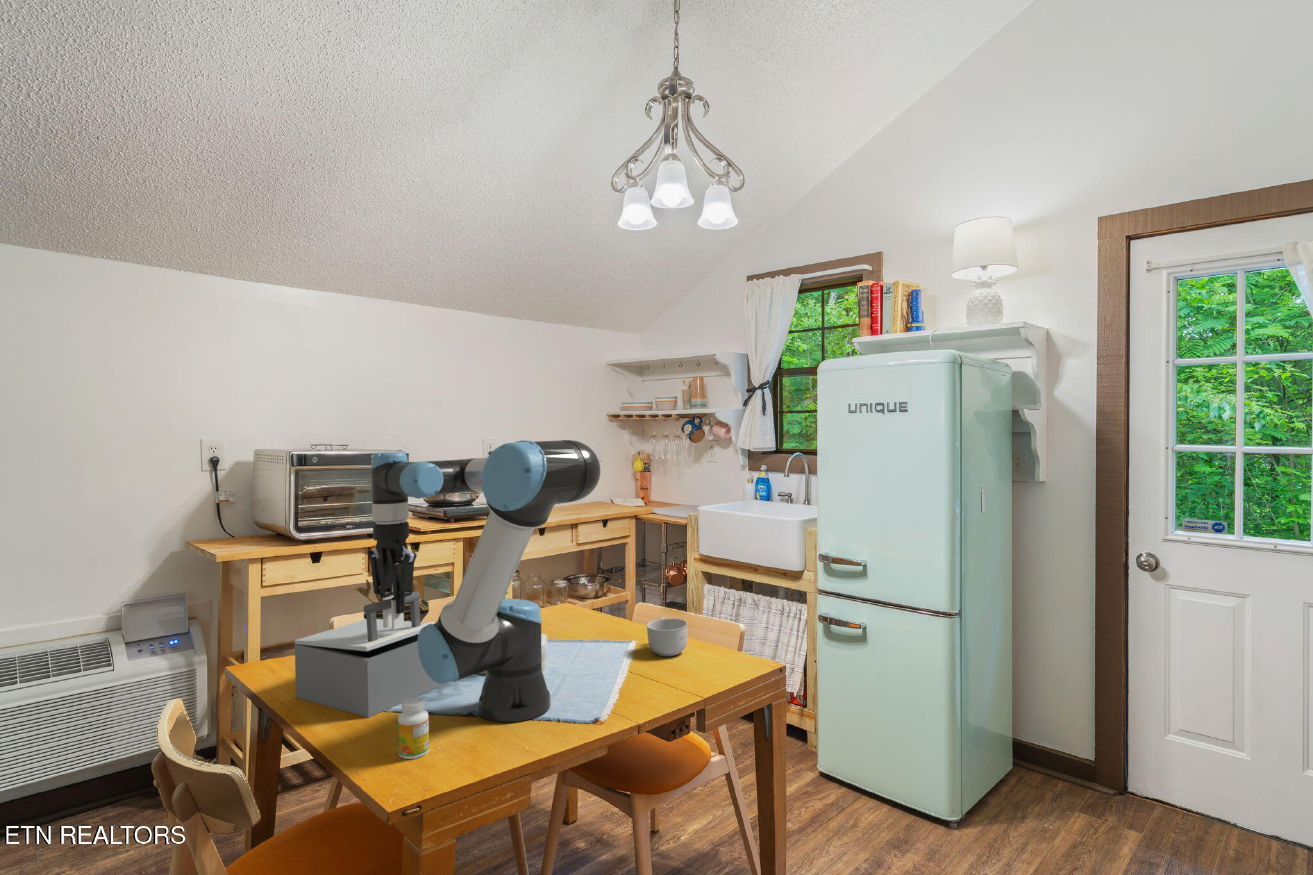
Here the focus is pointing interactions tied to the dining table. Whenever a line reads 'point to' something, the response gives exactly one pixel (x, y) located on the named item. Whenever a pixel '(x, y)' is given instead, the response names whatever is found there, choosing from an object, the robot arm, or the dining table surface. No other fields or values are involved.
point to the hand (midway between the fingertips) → (393, 626)
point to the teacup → (667, 636)
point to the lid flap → (369, 629)
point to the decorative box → (407, 614)
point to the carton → (361, 676)
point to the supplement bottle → (413, 729)
